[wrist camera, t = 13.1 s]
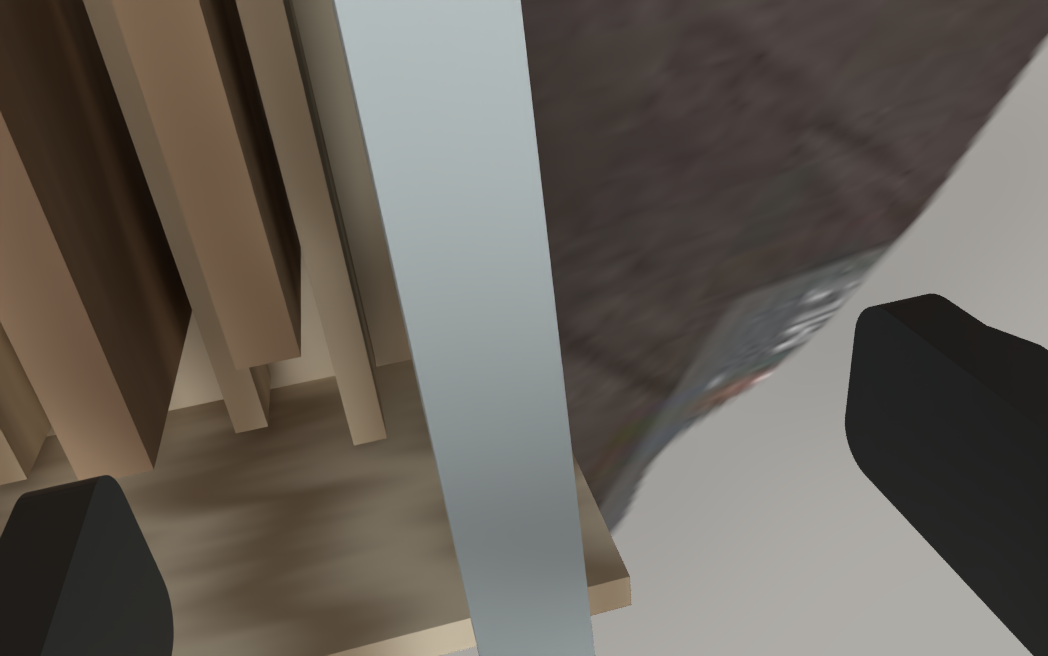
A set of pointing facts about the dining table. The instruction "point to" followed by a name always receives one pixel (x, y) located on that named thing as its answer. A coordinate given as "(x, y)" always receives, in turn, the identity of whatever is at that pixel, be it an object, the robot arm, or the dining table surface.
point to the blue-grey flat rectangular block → (476, 301)
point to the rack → (291, 407)
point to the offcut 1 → (82, 246)
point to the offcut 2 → (221, 167)
